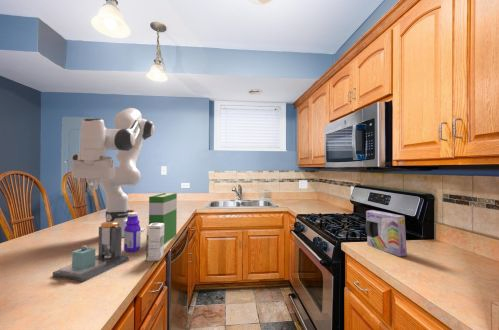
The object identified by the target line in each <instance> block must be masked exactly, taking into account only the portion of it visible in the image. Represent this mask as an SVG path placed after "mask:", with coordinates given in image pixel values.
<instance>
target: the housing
mask: <svg viewBox="0 0 499 330" xmlns="http://www.w3.org/2000/svg"><path fill="white" fill-rule="evenodd" d="M95 256H96V248H95V247H94V248H92V247H88V246H87V245H81V248H79V249H76V250H74V251H71V265H72V267H75V268H80V269H83V268H85V267H88V266H90V265H93V264H95Z"/></svg>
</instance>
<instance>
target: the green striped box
mask: <svg viewBox="0 0 499 330" xmlns="http://www.w3.org/2000/svg"><path fill="white" fill-rule="evenodd" d="M177 197H178V194H177V193H176V192H175V193H172V194H169V193H165V192H164V193H160V194H156V195H150V196H148V225H150V224H151V223H164V245H165V244H167V243H168V242H169V241H171V240H172V239H173V238H174V237H176V236H177V223H178V222H177V221H178V220H177V215H178V214H177V212H178V211H177V206H178V205H177V203H178V199H177Z"/></svg>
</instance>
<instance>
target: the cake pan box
mask: <svg viewBox="0 0 499 330" xmlns="http://www.w3.org/2000/svg"><path fill="white" fill-rule="evenodd" d="M365 219H366V220H365V233H366V237H367V238H366V241H367V242H366V243H367V246H369V247H372V248H375V249H378V250H381V251H383V252H385V253H388V254H391V255H394V256H397V257H407V256H408V253H407V252H408V250H407V236H406V235H407V234H406V221H405V220H406V217H405V215H401V214H395V213H390V212H385V211H380V210H374V209H370V210H366V211H365Z"/></svg>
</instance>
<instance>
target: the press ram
mask: <svg viewBox="0 0 499 330" xmlns="http://www.w3.org/2000/svg"><path fill="white" fill-rule="evenodd" d="M100 226H101V227H102V244H106V245H107V253H108V254H109V253H111V233H112V228H114V227H118V226H119V222H117V221H111V222H106V221H105V222H102V223H101V224H100Z"/></svg>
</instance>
